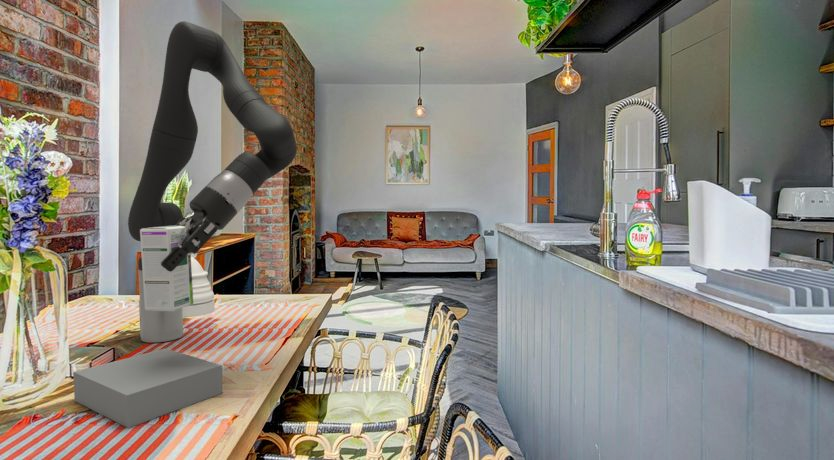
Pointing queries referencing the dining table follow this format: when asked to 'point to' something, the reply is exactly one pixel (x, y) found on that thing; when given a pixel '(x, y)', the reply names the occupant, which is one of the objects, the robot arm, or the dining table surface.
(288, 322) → the dining table surface
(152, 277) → the syrup box
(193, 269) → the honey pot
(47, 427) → the dining table surface
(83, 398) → the block
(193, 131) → the robot arm
